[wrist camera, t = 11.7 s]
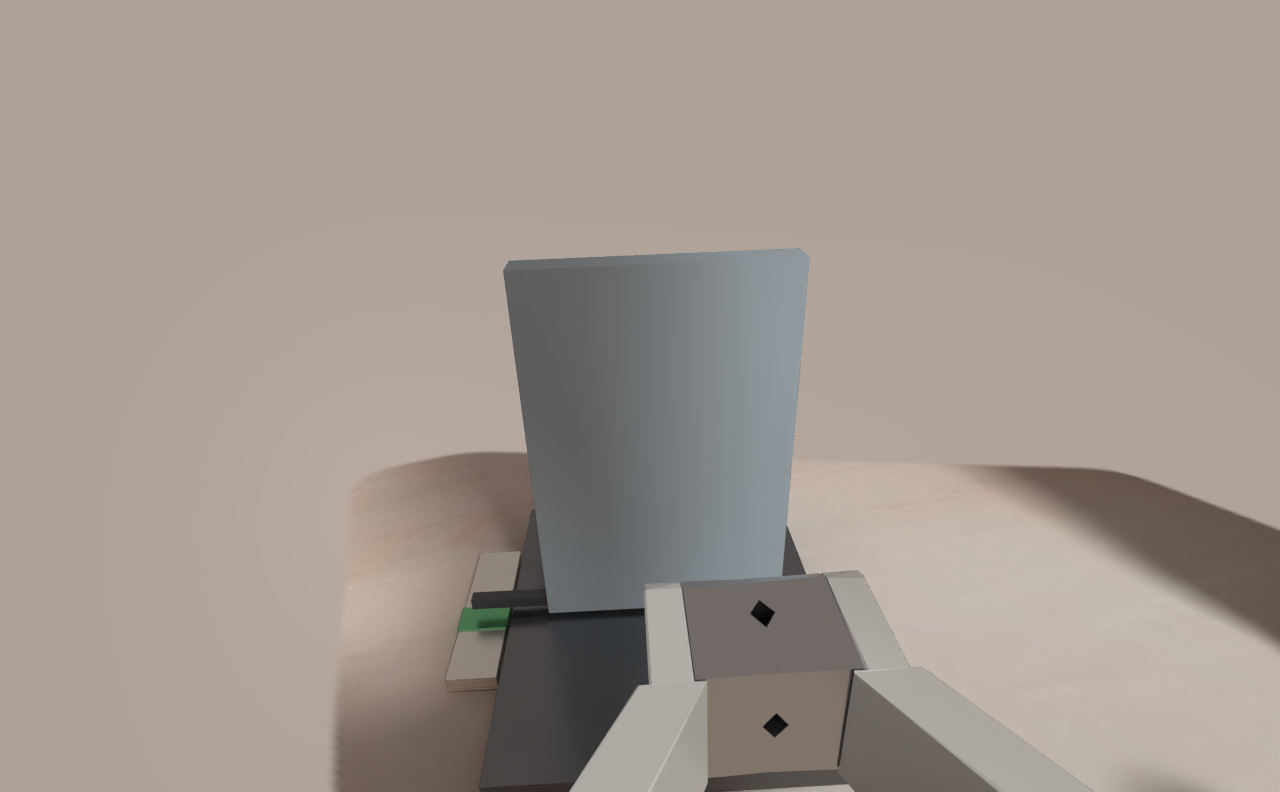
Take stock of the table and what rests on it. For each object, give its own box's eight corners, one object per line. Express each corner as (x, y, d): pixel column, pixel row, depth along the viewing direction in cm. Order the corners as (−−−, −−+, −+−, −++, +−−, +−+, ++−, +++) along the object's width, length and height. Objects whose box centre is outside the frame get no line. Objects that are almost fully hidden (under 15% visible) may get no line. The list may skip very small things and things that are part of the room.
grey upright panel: (773, 580, 34) (799, 248, 26) (779, 600, 33) (809, 257, 25) (476, 596, 34) (410, 265, 26) (471, 617, 32) (399, 275, 24)
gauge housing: (774, 512, 42) (780, 434, 39) (876, 781, 26) (898, 680, 23) (491, 527, 41) (478, 449, 39) (414, 810, 25) (382, 710, 23)
